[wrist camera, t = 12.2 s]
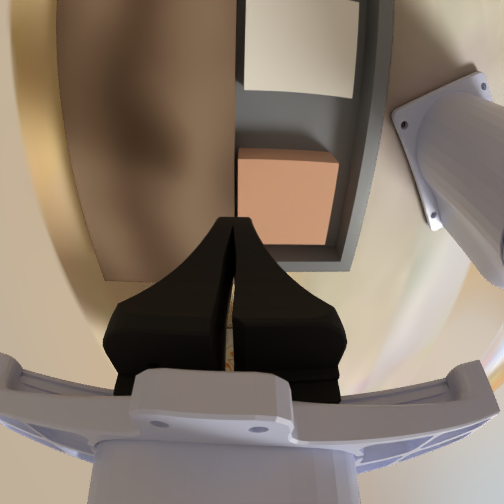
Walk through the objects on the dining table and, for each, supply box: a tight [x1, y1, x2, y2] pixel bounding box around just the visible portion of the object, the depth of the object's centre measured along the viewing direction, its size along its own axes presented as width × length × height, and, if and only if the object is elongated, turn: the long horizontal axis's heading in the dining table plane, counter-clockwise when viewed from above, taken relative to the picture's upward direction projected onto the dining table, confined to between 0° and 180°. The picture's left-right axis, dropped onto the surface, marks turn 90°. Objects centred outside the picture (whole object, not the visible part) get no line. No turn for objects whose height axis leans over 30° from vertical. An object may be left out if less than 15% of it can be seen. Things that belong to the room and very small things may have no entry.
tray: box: [235, 0, 394, 272], centre depth 14 cm, size 7×18×2 cm, turn 179°
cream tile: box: [244, 0, 359, 99], centre depth 11 cm, size 5×5×2 cm
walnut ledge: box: [56, 0, 238, 284], centre depth 14 cm, size 9×20×2 cm, turn 179°
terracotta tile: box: [238, 148, 339, 245], centre depth 16 cm, size 5×5×2 cm
